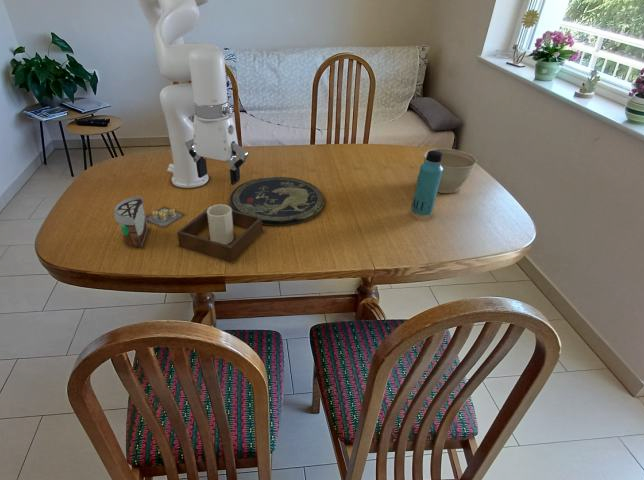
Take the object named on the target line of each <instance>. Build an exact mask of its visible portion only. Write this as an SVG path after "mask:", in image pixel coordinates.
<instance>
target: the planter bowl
mask: <svg viewBox="0 0 644 480" xmlns="http://www.w3.org/2000/svg"><path fill="white" fill-rule="evenodd" d="M432 150H434V151H439V152H441V153H442V160H441V162H438V163H439V164H440V165H441V166H442V167H443V171H442V175H441V179H440V183H439V186H438V190H437V193H440V194H453V193H456V192H458V190H459V188H460V187H461V186H462V185H464V184H465V183H466V182H467V181H468V179H469V178H470V177H471V175H472V173H473V171H474V168H475V166H476V164H477V159H476V157H475V156H474V155H472V154H470V153H468V152H465V151H462V150H459V149H453V148H432V149H430V150H427V151H426V152H424V155H423V163H425V162H427V161H428V160H426V157H427V154H428V152H429V151H432Z"/></svg>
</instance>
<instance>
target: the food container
mask: <svg viewBox="0 0 644 480" xmlns="http://www.w3.org/2000/svg"><path fill="white" fill-rule="evenodd" d="M146 218H147V217H146V212H145V206H144V199H143V197H142V196H141V195H139V196H133V197H129V198H126V199H124V200H122V201H120V202H119V203H118V204H116V206H115V207H114V220H115V221H116V222H117V223H119V226H120V229H121V232H122V234H123V237H124V240H125V242H126V244H127V245H128V246H130V247H132V248H139V249H140V248H143V245H144V241H145V238H146V236H147V233H148V230H149V229H148V222H147V220H146Z"/></svg>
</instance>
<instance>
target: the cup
mask: <svg viewBox="0 0 644 480" xmlns="http://www.w3.org/2000/svg"><path fill="white" fill-rule="evenodd" d="M212 205H213V206H212ZM212 205H210V206H211V207H210V206H209V207H207V208H206V209H207V218H208V226H207V227H208V233H209V240H211V241H215V242H218V243H221V244H225V245H228V244H229V245H230V243H231V244H232V243H233V242H234V240H235V233H234V232H235V231H234V225H233V218H232V210H233V209H232V207H231V205H230V206H229V205H227V204H224V203H223V204H221V203H219V204H212Z"/></svg>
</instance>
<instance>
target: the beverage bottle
mask: <svg viewBox="0 0 644 480" xmlns="http://www.w3.org/2000/svg"><path fill="white" fill-rule="evenodd" d="M431 150H432V151H429V150H428V151H429V152H428V154H427V157H426V160H428V161H427V162H425V163H424V162H423V163H422V164H420V167H419V172H418V175H417V179H416V184H415V189H414V194H413V198H412V202H411V211H412V213H414V214H415V215H418V216H430V215H432V213H433V211H434V207H435V203H436V199H437V195H438V192H437V190H438V186H439V183H440V179H441V175H442V171H443V167H442V166H441V165H440V164H439V163H438V162H441V160H442V153H441V152H439V151H434V150H433V149H431Z"/></svg>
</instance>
